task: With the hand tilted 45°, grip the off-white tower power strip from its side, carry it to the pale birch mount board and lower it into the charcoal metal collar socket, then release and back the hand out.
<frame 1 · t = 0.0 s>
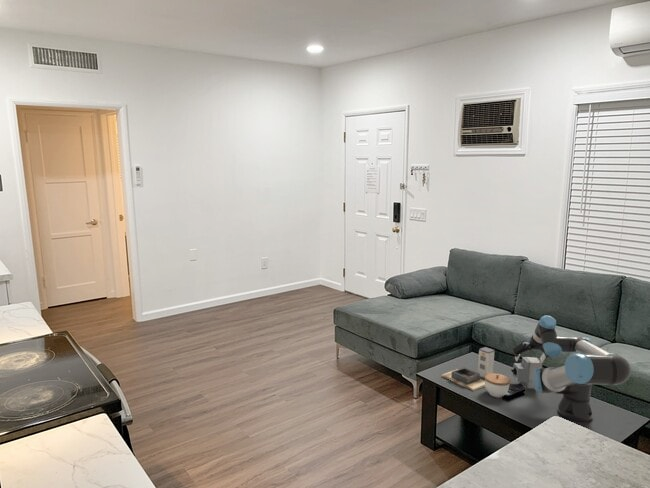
hand: (528, 359, 257), 15 cm above the table, tool tilted 35°, fingers open, 13 cm apart
power strip: (484, 375, 272), on the table
lidded bowl: (496, 394, 249), on the table
mount board: (465, 380, 265), on the table
circuit breaker: (524, 385, 261), on the table
socket collar: (465, 375, 265), on the mount board, point 3 cm above the table
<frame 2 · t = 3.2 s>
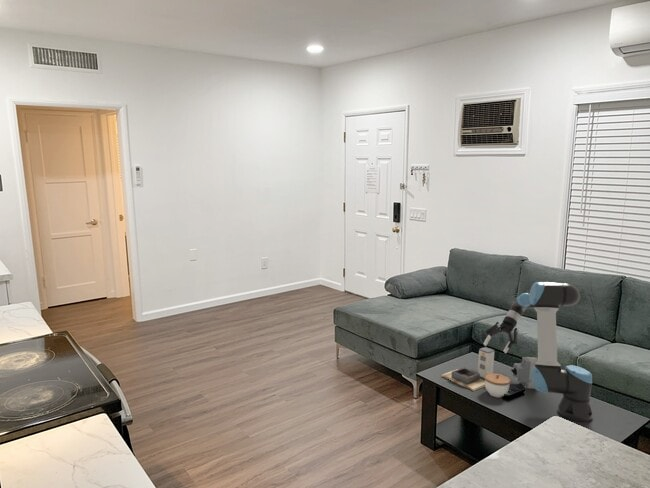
hand: (494, 348, 275), 15 cm above the table, tool tilted 45°, fingers open, 13 cm apart
nothing on the table moved.
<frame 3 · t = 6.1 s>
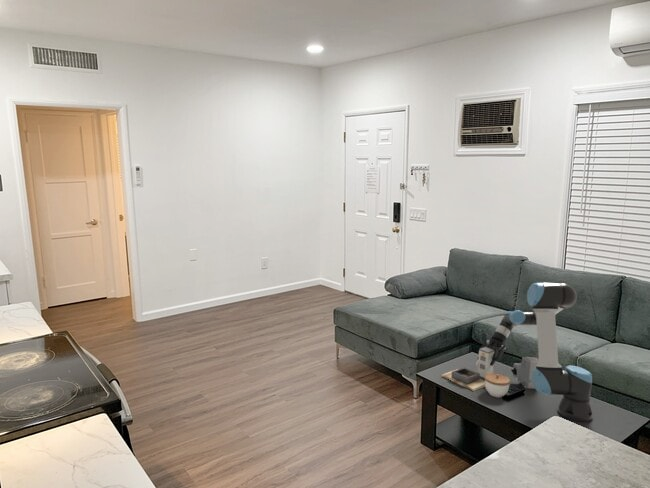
hand: (481, 367, 269), 6 cm above the table, tool tilted 45°, fingers closed on power strip, 6 cm apart
power strip: (484, 375, 272), on the table, touching gripper
everything else where it was.
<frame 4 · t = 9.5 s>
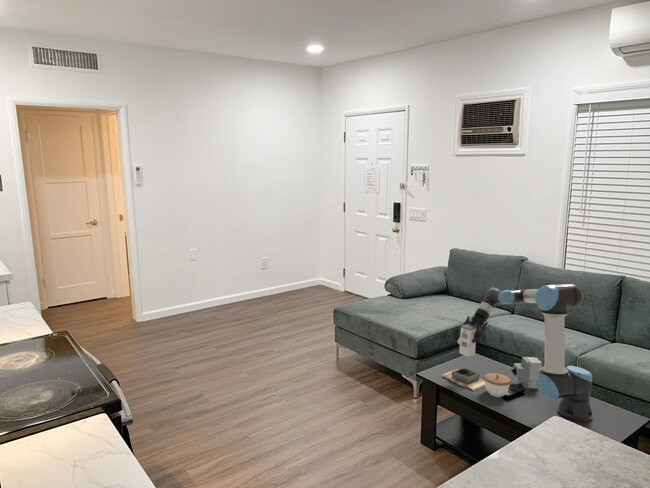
hand: (463, 344, 260), 22 cm above the table, tool tilted 45°, fingers closed on power strip, 6 cm apart
power strip: (467, 353, 263), point 16 cm above the table, touching gripper
everything else where it was.
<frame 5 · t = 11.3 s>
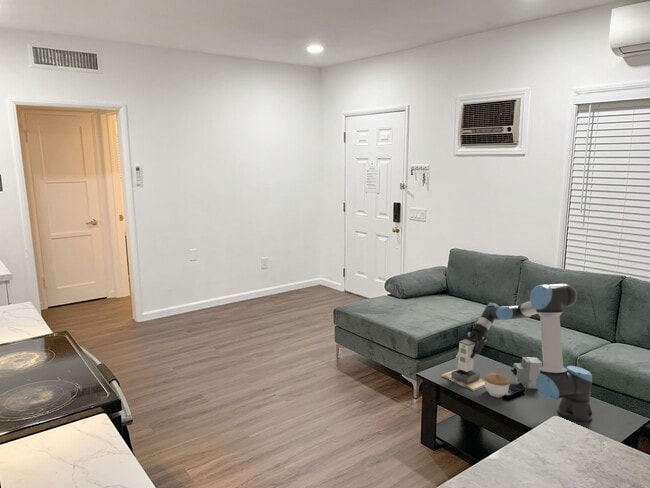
hand: (462, 360, 262), 13 cm above the table, tool tilted 45°, fingers closed on power strip, 6 cm apart
power strip: (465, 368, 265), point 7 cm above the table, touching gripper
everything else where it was.
when the fingers open (8 cm above the table, at t = 12.8 s): power strip drops 1 cm, resting on mount board.
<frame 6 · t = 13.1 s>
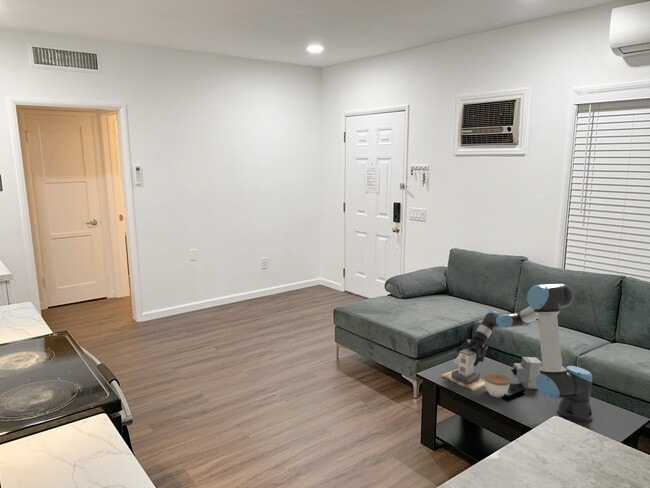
hand: (462, 366, 262), 9 cm above the table, tool tilted 45°, fingers open, 9 cm apart
power strip: (465, 378, 265), point 1 cm above the table, touching mount board
everything else where it was.
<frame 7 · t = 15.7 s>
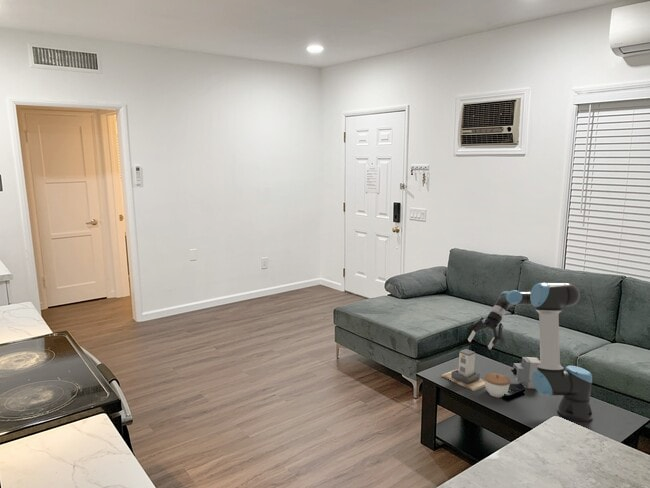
hand: (478, 344, 268), 19 cm above the table, tool tilted 45°, fingers open, 13 cm apart
nothing on the table moved.
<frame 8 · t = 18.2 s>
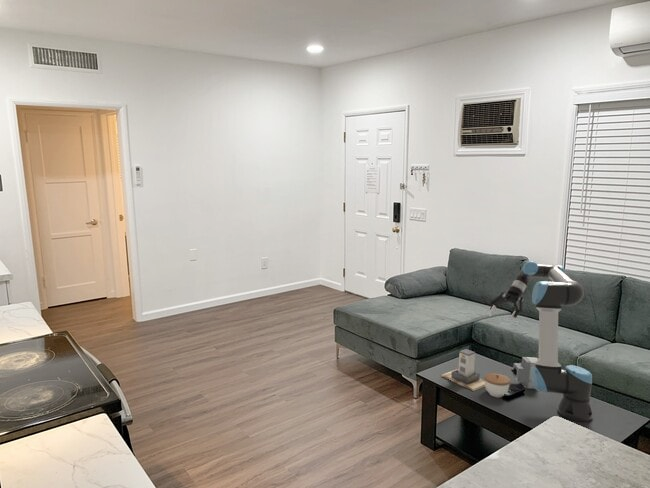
hand: (499, 318, 271), 34 cm above the table, tool tilted 45°, fingers open, 13 cm apart
nothing on the table moved.
at the end: power strip 0.1 cm off-centre on the mount board, point 1.2 cm above the mount board's base; power strip tilted 0°; the gripper is holding nothing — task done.
